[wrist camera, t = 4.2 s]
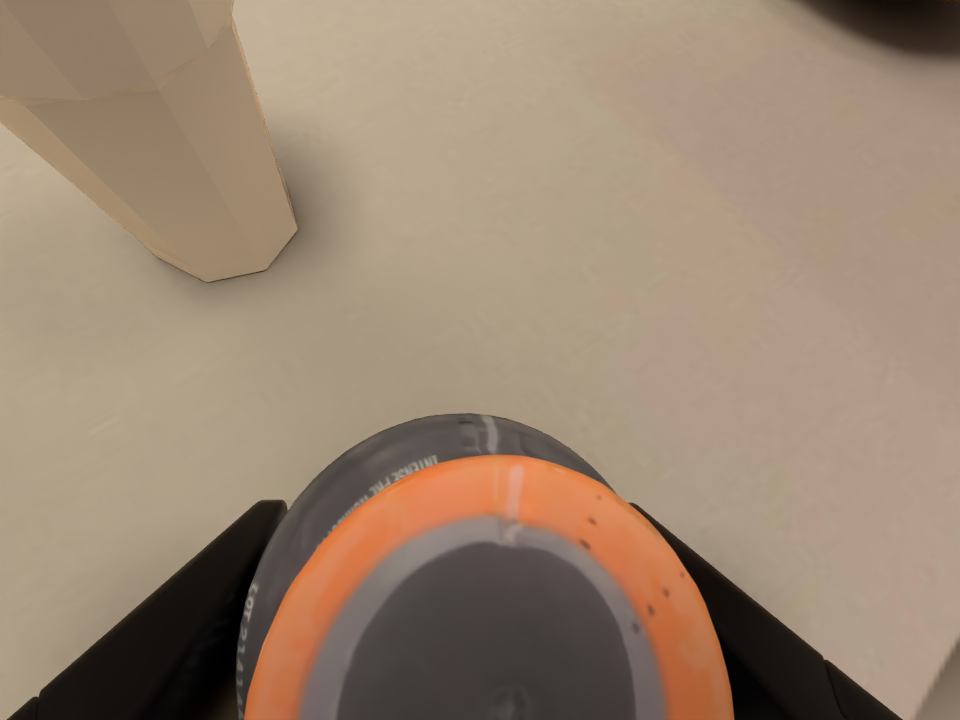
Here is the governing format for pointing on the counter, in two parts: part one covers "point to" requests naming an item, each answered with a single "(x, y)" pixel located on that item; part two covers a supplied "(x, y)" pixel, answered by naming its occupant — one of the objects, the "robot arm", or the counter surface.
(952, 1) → the bowl
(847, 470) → the counter surface
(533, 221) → the counter surface
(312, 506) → the pill bottle
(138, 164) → the cup
